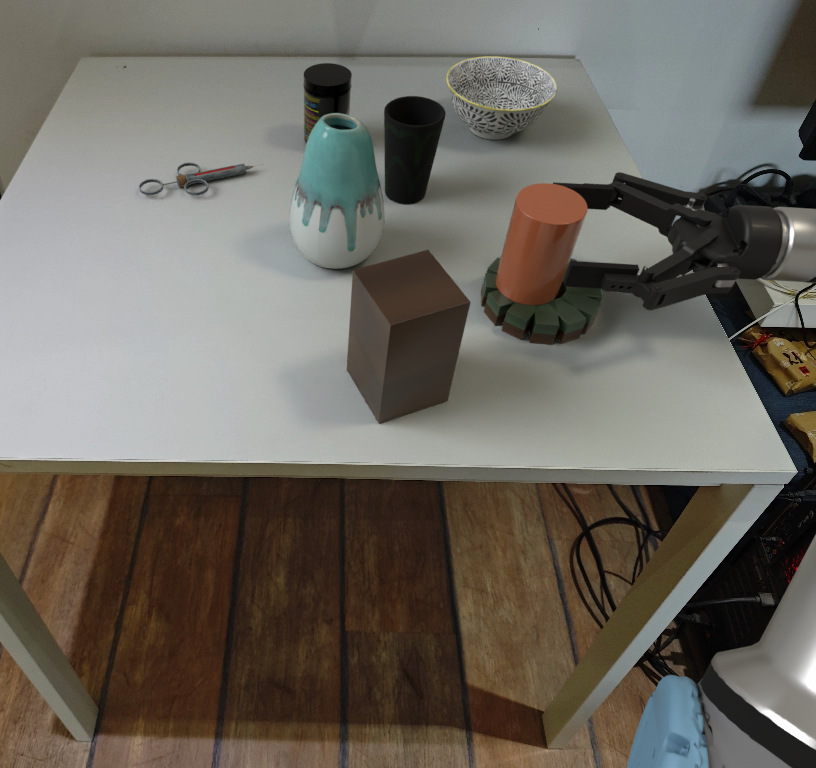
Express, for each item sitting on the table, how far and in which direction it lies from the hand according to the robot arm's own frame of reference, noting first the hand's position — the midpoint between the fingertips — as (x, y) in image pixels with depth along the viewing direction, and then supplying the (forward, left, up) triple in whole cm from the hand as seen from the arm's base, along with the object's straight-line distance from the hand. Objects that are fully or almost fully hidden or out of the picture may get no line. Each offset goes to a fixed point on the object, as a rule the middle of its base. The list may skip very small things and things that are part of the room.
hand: (557, 231), depth 77 cm
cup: (+26, +4, -11) cm, 28 cm away
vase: (+18, +18, -11) cm, 27 cm away
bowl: (+36, -16, -11) cm, 41 cm away
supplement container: (+42, +9, -11) cm, 44 cm away
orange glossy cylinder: (+1, +1, -8) cm, 8 cm away
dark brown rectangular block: (-5, +21, -11) cm, 24 cm away
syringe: (+39, +29, -11) cm, 50 cm away
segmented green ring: (0, 0, -11) cm, 11 cm away
